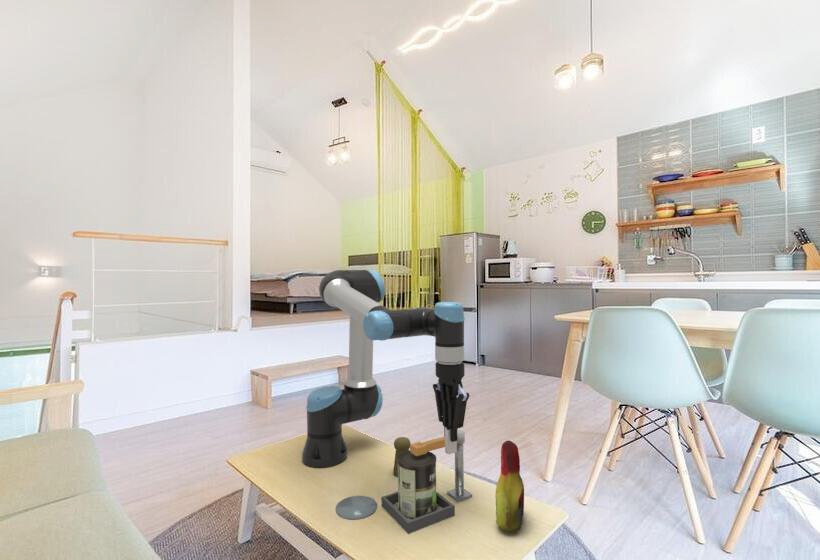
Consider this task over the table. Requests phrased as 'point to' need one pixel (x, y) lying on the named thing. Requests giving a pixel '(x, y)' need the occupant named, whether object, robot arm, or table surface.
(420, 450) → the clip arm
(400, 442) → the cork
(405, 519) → the square picture frame
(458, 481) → the post
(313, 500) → the table surface
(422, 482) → the coffee can
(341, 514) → the slate coaster
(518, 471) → the bottle
